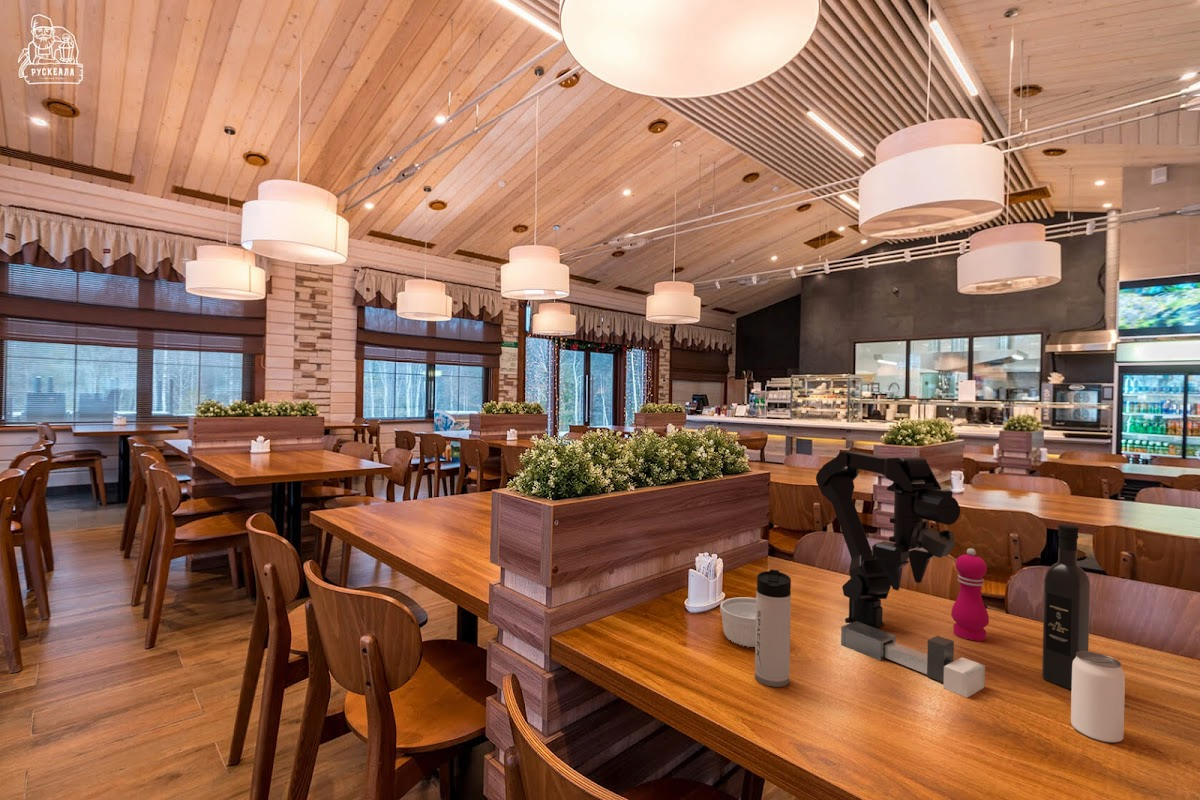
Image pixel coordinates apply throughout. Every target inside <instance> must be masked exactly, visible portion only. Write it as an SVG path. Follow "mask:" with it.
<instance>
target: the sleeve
mask: <svg viewBox="0 0 1200 800" xmlns="http://www.w3.org/2000/svg"><path fill="white" fill-rule="evenodd" d="M840 630H841V631H840V632H841V636H840V646H843V647H846V648H848V649H851V650H853V651H855V652H858V653H861V654H863V655H865V656H868V657H869V658H872V659H873V658H874V659H875V660H877V661H881V662H882V661H883V660H884V657H883V647H884V643H885V642H888V641H892V642H895V643H896V634H893V633H890V632H887V631H884V630H881V629H879V628H878V627H876V628H874V627H871V626H868V625H866V624H863V623H860V622H857V621H855V622H852V623H849V622H848V623H847V624H845V625H841V627H840Z"/></svg>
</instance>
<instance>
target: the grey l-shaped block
mask: <svg viewBox="0 0 1200 800" xmlns="http://www.w3.org/2000/svg"><path fill="white" fill-rule="evenodd" d="M954 645H955V640H952V639H948V638H945V637H943V636H940V635H936V636H933V637H931V638H929V639H927V653H925V652H921V651H919V650H916V649H914V648H911V647H908V646H905V645H903V644H900V643H898V642H896V641H895V642H892V641H888V642H885V643H884V647H883V659H888V660H890V661H892V662H895V663H897V664H900V665H902V666H904V667H907V668H908V669H909V668H910V669H912V670H914V671H917V672H920V673H922V674H925V675H926V677H928V678H930V679H934V680H936V681H938V682H941V683H943V684H944V666H946V665H948V664H949V663H951V662H953V661H955V660H954V658H955V657H954V655H955V652H954V651H955V646H954Z"/></svg>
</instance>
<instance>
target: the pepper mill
mask: <svg viewBox="0 0 1200 800" xmlns="http://www.w3.org/2000/svg"><path fill="white" fill-rule="evenodd" d="M976 554H977V552H976V549H974V548H967V550H966V554H962V555H960V556H958V557H957V559H956V561H955V569H956V571H957V572H958V573H959V574H957V577H958V578H957V581H958V582H959V592H958V596H957V598H956V599H955V601H954V603H953V605H952V608H951V613H950V614H951V618H952V619H953V621H954V622H955V623H954V624H953V629H952V630H953V634H954V635H955V636H956V637H958V636H959V638H961V637H962V638H961V639H963V638H966V639H965V640H967V639H970V640H969V641H972V640H975V641H974V642H982V641H983V640H984V641H985V640H986V639H987V630H986V629H985V628H986V627H987V626H988V625H989V624H990V623H989V622H990V619H989V617H990V616H989V612H988V610H987V608H986V606H985V604H984V601H983V597H982V586H984V584H985V583H984V581H985V579H984V578H983V577H984V576H985V575H986V574H987V570H988V567H987V564H986V562H985V560H984V559H982V558H981V557H980V556H979V555H978V556H977V555H976Z"/></svg>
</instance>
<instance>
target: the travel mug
mask: <svg viewBox="0 0 1200 800" xmlns="http://www.w3.org/2000/svg"><path fill="white" fill-rule="evenodd" d="M756 585H757V586H756V595H755V598H756V645H755V648H754V649H755V650H754V652H755V653H754V654H755V655H754V656H755V657H754V678H755V679H756V680H757V681H758V682H759V684H762V685H764V686H766V685H767V687H770V686H773V687H772V688H781V687H785V686H788V684H789V683H790V658H791V657H790V656H791V655H790V653H791V614H792V613H791V608H792V607H791V605H792V598H791V597H792V594H791V592H792V591H791V588H792V580H791V576H789V575H787V574H786V573H783V572H781V571H780V570H779V569H769V570H765V571H761V572H759V573H758V574H757V575H756Z"/></svg>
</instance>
